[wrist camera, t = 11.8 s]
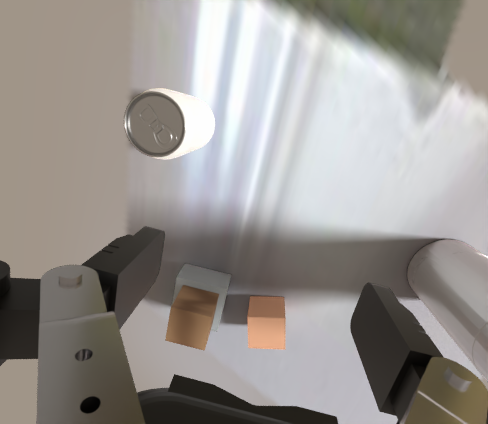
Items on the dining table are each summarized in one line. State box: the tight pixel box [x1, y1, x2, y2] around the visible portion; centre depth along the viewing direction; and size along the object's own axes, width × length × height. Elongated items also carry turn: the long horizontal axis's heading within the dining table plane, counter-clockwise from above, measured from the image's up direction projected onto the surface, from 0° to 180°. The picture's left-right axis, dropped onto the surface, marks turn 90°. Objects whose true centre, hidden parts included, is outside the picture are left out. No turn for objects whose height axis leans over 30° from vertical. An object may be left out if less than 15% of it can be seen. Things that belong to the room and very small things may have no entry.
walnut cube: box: [166, 285, 219, 350], centre depth 38 cm, size 5×5×5 cm
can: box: [124, 88, 215, 159], centre depth 32 cm, size 6×6×12 cm
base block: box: [171, 263, 231, 332], centre depth 43 cm, size 7×7×4 cm
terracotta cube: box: [247, 296, 285, 349], centre depth 42 cm, size 5×5×5 cm
